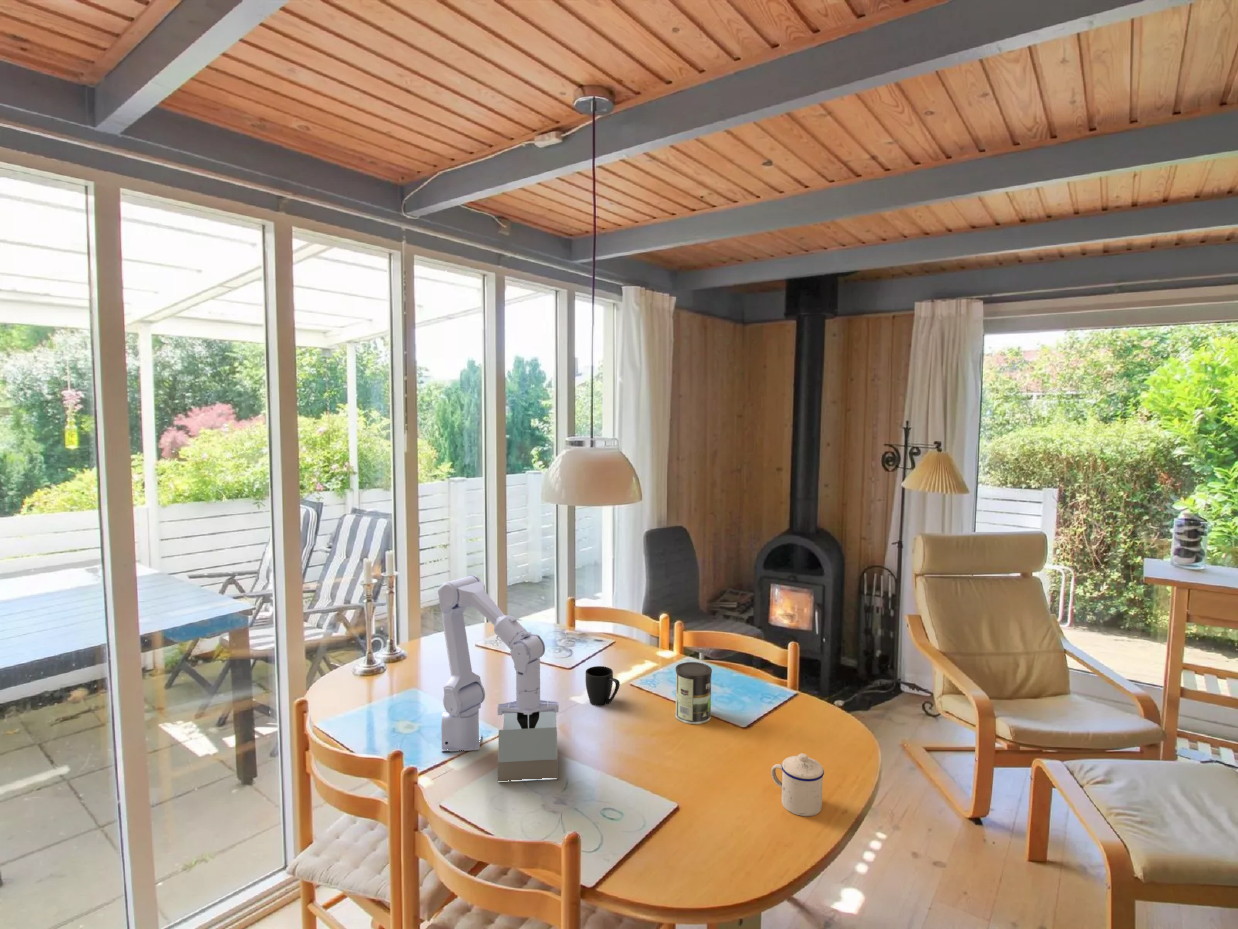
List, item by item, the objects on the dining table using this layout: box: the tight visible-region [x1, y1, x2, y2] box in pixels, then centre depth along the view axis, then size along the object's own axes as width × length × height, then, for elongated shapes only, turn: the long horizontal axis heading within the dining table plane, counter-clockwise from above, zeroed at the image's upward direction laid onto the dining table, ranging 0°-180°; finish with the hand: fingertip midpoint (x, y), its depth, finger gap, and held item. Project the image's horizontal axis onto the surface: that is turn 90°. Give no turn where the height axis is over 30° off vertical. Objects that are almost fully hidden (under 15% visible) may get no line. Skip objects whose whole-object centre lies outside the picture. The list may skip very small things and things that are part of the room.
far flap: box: [502, 711, 557, 730], centre depth 171 cm, size 14×7×1 cm, turn 96°
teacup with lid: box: [770, 752, 825, 817], centre depth 146 cm, size 12×9×12 cm
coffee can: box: [674, 661, 713, 725], centre depth 187 cm, size 10×10×14 cm
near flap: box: [497, 726, 558, 763], centre depth 154 cm, size 14×7×1 cm
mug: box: [585, 665, 621, 707], centre depth 195 cm, size 8×12×10 cm
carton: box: [497, 753, 559, 782], centre depth 161 cm, size 14×14×5 cm
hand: (528, 741), depth 158 cm, fingers closed
